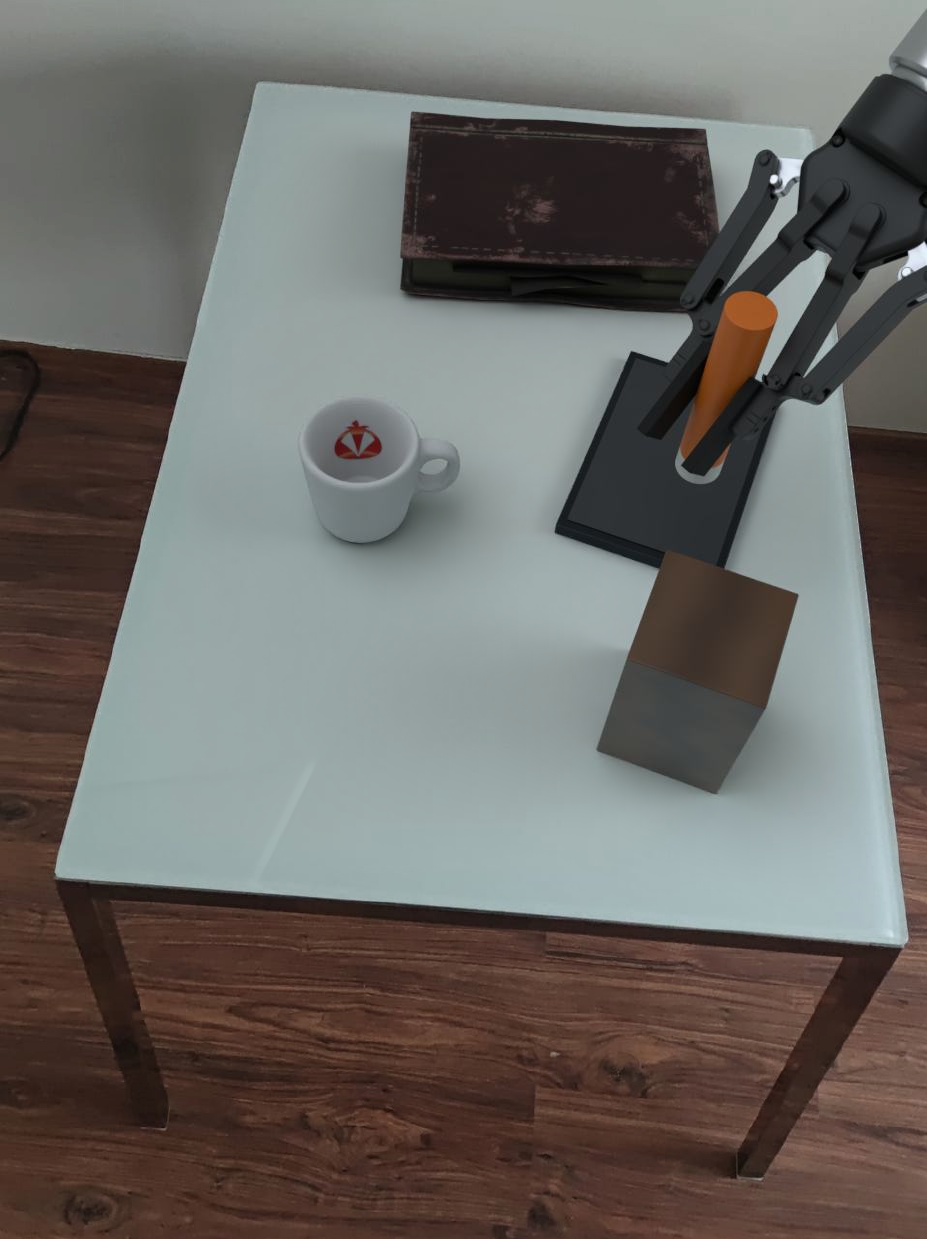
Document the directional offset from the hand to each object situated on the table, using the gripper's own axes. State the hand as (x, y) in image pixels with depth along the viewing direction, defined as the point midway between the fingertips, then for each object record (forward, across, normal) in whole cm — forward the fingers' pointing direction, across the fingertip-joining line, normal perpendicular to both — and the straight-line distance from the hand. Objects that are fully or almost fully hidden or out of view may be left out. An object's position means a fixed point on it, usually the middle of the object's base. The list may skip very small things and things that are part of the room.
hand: (671, 452), depth 74 cm
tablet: (+3, +4, -15) cm, 16 cm away
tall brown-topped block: (+14, -10, -4) cm, 17 cm away
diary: (-4, +28, -22) cm, 36 cm away
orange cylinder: (0, 0, -6) cm, 6 cm away
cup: (+17, +15, -2) cm, 22 cm away
